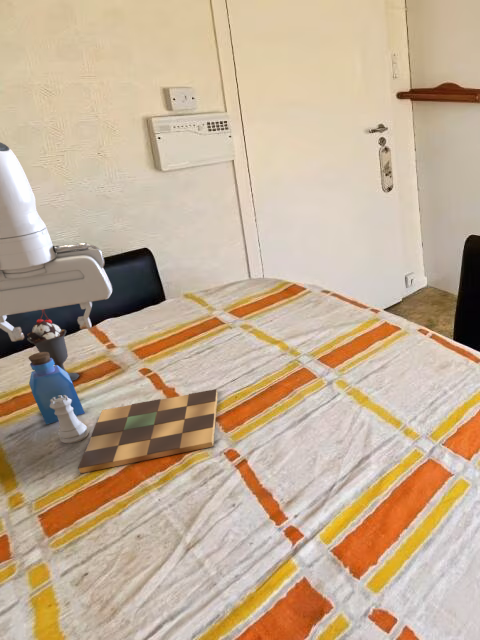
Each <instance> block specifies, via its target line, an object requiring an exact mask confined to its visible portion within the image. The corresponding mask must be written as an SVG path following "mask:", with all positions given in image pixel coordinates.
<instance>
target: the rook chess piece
mask: <svg viewBox="0 0 480 640" xmlns="http://www.w3.org/2000/svg"><path fill="white" fill-rule="evenodd" d="M58 397H59V398H58V399H56V397H54V398H52V399H53V400H52V399H51V400H50V402H51V404H50V408H52V409H54V410H55V413H54V414H55V415H57V417H58V420H59V421H58V424H59V427H58V433H57V434H58V435H57V436H58V437H59V441H60V442H61V443H63V444H68V445H69V444H76V443H78V442H81V441H83V440H84V439H86V438H87V437H88V435H89V432H90V430H89V429H88V426H87V425H86V424H85V423H83V421H81V420H79V419H78V417H77V415H76V416H75V414H74V412H73V407H71V405H70V404H71V402H72V400H71V399H69V398H68V397H67V396H66V395H63V397H62V395H59V396H58Z"/></svg>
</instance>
